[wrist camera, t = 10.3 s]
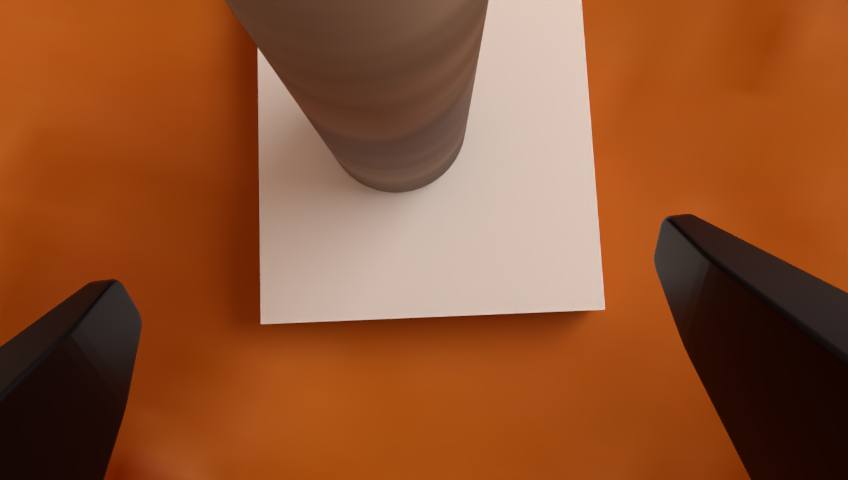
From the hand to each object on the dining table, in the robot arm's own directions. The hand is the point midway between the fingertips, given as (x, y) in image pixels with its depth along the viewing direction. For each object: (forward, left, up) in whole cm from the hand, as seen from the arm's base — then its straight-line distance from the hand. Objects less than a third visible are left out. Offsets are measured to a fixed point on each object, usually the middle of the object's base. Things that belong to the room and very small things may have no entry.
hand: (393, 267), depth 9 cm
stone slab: (+7, -1, -12) cm, 13 cm away
